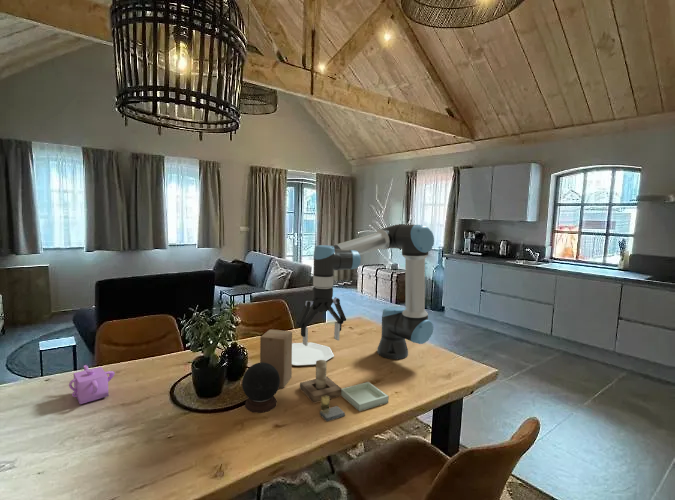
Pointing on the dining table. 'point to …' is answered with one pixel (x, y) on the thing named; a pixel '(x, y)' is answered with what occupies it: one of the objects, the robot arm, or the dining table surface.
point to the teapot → (90, 384)
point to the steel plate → (332, 413)
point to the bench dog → (325, 402)
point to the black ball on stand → (261, 387)
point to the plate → (309, 353)
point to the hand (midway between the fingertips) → (321, 342)
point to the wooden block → (278, 353)
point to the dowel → (321, 374)
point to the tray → (364, 396)
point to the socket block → (315, 395)
